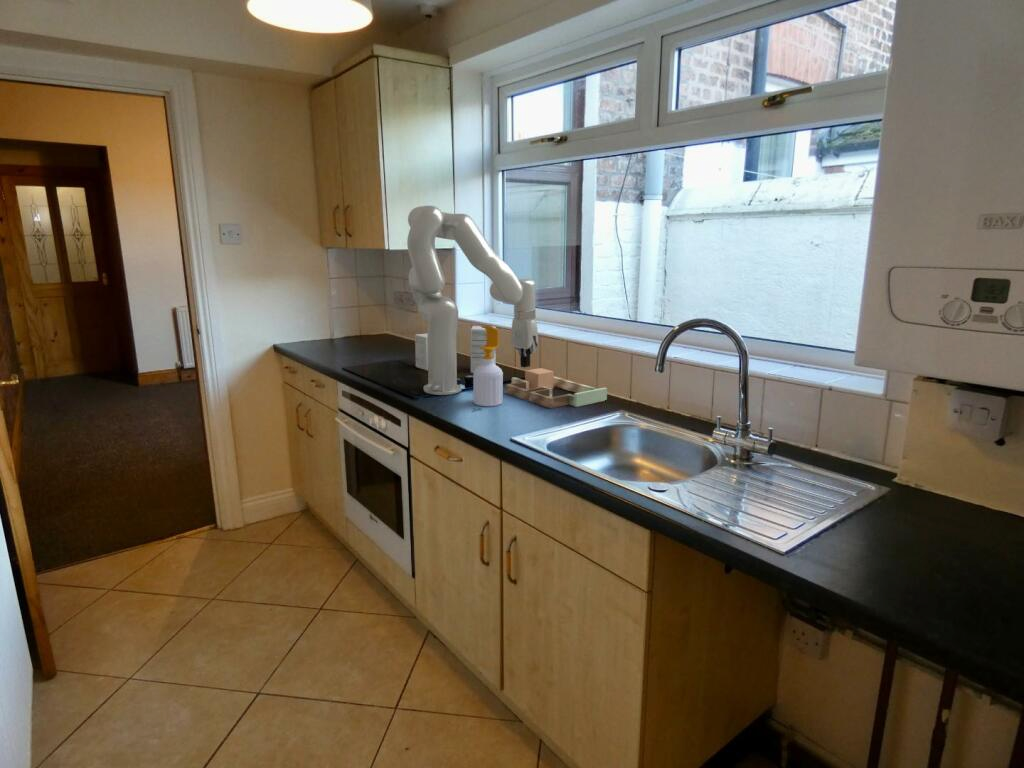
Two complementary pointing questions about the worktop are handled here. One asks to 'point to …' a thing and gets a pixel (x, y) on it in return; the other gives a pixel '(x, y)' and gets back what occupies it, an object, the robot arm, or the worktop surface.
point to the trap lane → (546, 392)
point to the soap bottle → (488, 374)
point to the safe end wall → (590, 397)
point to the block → (539, 378)
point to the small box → (421, 351)
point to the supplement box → (478, 346)
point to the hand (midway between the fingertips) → (525, 366)
